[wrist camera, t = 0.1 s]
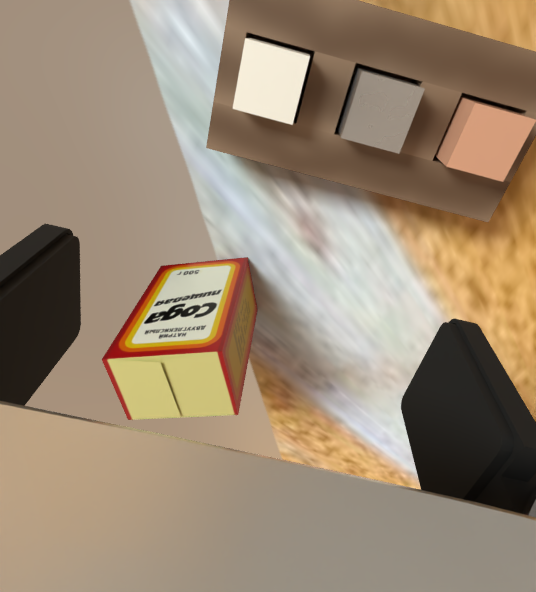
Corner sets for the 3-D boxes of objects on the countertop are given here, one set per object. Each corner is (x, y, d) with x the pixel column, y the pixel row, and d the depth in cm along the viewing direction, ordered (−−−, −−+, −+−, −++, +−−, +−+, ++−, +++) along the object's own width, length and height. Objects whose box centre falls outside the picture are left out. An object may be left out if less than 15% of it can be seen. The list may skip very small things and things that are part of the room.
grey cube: (356, 67, 32) (362, 71, 29) (412, 83, 32) (424, 88, 29) (337, 127, 34) (341, 137, 31) (390, 142, 35) (399, 153, 31)
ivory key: (252, 37, 32) (245, 38, 28) (309, 54, 32) (309, 56, 28) (240, 101, 34) (232, 108, 31) (293, 115, 34) (292, 125, 31)
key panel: (244, -27, 33) (235, -36, 28) (541, 59, 34) (575, 63, 30) (217, 135, 39) (206, 147, 35) (469, 202, 40) (488, 222, 36)
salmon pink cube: (457, 95, 33) (475, 102, 29) (512, 110, 33) (536, 119, 29) (432, 153, 35) (446, 166, 31) (484, 167, 35) (503, 181, 32)
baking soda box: (247, 257, 45) (221, 354, 31) (257, 309, 48) (237, 418, 35) (161, 265, 46) (99, 362, 33) (176, 316, 50) (126, 423, 36)
